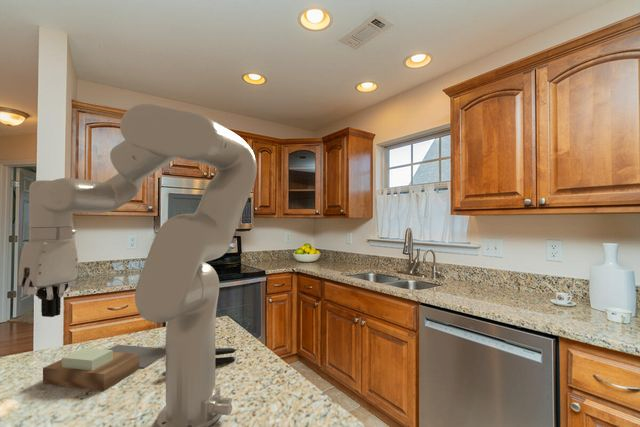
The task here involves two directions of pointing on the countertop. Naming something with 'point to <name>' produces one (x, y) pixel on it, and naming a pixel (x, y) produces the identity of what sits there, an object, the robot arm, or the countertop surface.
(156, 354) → the mat
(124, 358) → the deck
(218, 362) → the can opener
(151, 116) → the robot arm
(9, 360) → the countertop surface
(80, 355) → the pale green flat block
